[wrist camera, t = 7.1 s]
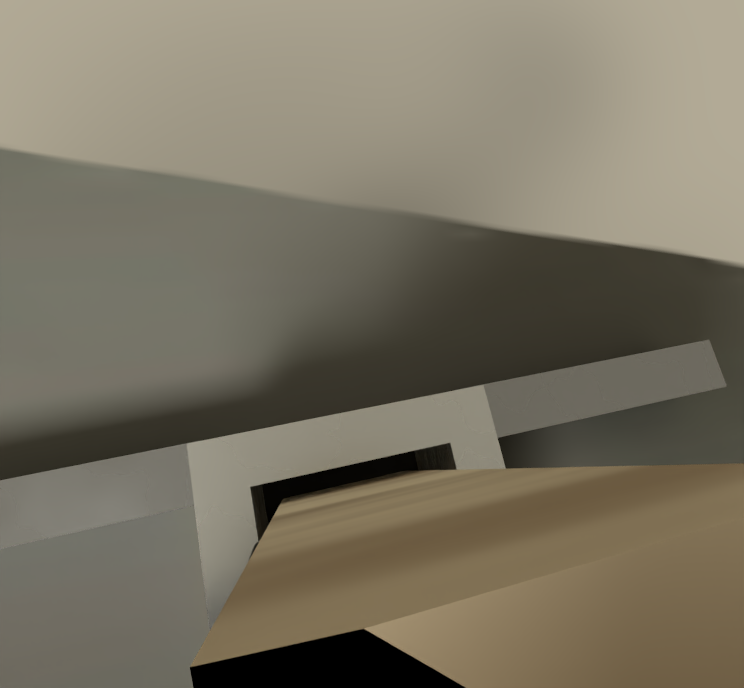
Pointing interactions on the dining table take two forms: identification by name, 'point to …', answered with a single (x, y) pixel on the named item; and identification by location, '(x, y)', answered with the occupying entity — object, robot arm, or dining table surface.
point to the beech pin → (494, 583)
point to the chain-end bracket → (333, 454)
